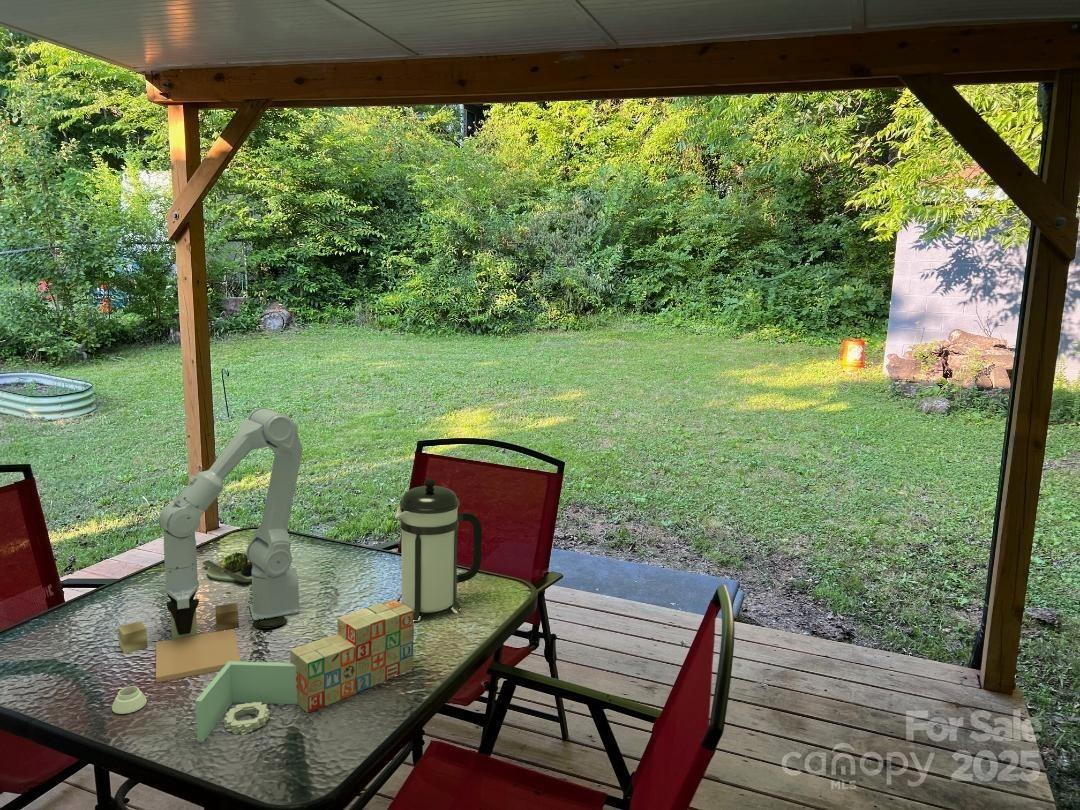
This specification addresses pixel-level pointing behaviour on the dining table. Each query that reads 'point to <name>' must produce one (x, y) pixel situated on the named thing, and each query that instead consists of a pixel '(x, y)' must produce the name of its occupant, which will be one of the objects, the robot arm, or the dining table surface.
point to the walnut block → (226, 617)
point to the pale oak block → (132, 637)
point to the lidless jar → (129, 700)
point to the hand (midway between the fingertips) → (184, 627)
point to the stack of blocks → (355, 655)
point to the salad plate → (231, 568)
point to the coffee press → (433, 548)
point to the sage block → (192, 633)
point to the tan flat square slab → (195, 655)
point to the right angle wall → (244, 695)
